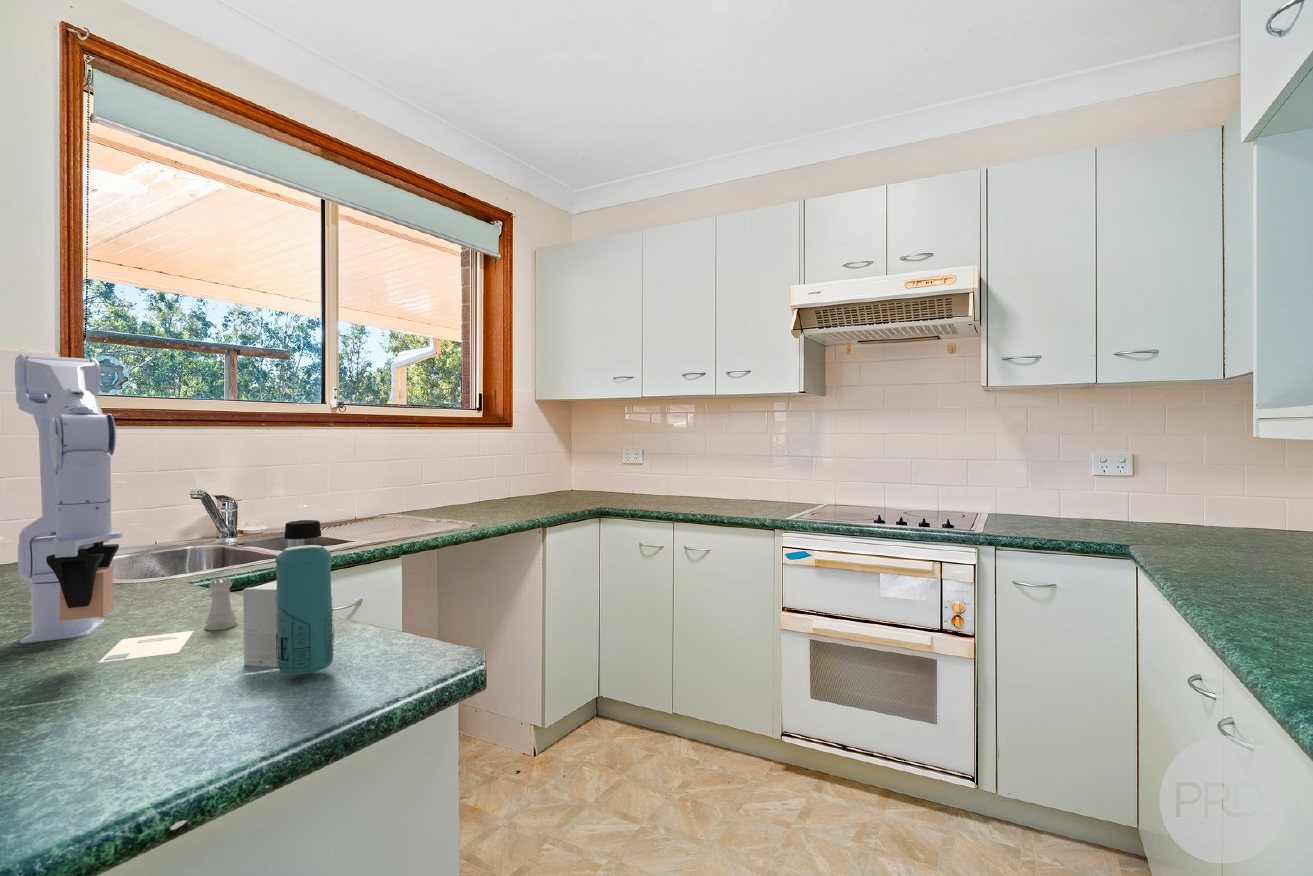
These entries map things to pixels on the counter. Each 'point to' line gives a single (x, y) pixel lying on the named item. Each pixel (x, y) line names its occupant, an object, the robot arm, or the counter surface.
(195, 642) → the counter surface
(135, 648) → the letter
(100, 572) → the block
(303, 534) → the beverage bottle
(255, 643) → the small box
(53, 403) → the robot arm
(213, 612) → the rook chess piece
